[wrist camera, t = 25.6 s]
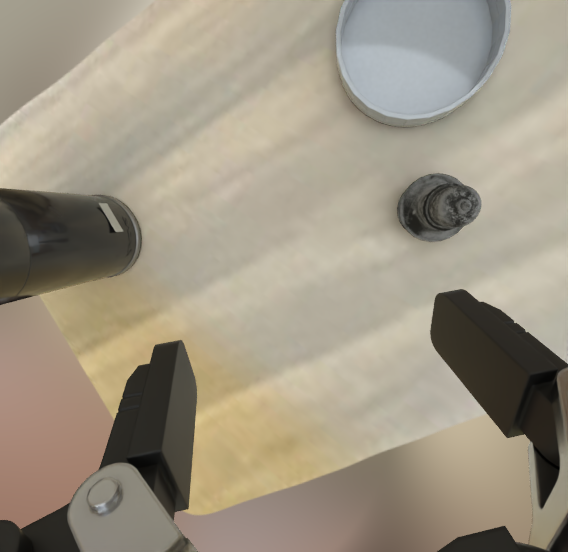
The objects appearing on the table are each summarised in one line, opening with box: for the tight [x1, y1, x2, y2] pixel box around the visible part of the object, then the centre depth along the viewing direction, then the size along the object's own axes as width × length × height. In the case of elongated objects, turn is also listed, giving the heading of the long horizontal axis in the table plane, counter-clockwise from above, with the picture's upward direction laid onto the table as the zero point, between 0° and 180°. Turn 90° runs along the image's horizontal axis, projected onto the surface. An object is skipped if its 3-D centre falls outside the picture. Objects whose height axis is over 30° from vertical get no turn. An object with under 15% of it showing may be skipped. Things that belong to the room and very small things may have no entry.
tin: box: [336, 0, 511, 127], centre depth 30 cm, size 14×14×3 cm
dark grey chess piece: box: [397, 173, 481, 242], centre depth 28 cm, size 6×6×12 cm
